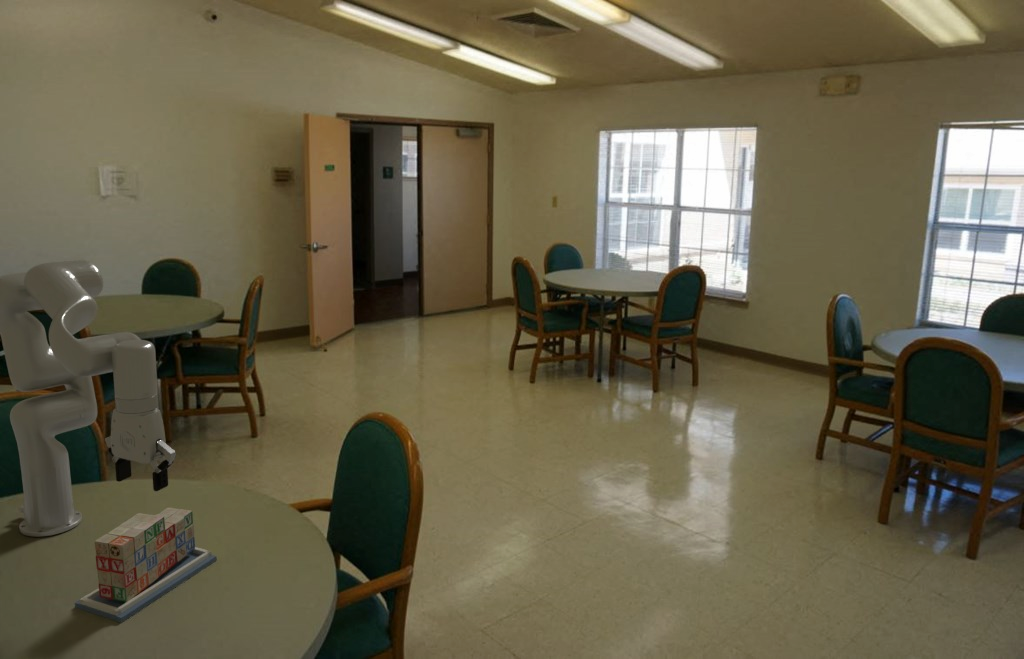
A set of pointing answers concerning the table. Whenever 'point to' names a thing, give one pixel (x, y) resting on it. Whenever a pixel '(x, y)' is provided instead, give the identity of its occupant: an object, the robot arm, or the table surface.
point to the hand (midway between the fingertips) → (142, 483)
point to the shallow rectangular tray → (148, 588)
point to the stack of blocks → (142, 551)
